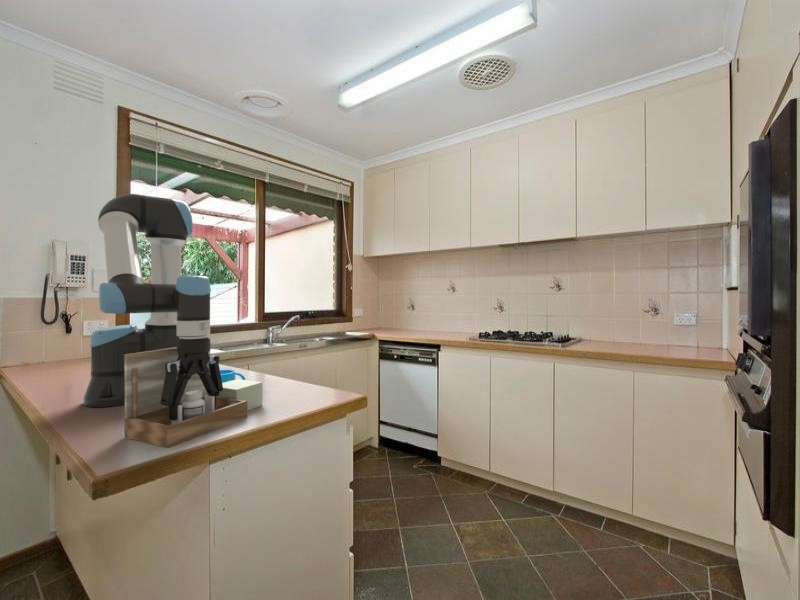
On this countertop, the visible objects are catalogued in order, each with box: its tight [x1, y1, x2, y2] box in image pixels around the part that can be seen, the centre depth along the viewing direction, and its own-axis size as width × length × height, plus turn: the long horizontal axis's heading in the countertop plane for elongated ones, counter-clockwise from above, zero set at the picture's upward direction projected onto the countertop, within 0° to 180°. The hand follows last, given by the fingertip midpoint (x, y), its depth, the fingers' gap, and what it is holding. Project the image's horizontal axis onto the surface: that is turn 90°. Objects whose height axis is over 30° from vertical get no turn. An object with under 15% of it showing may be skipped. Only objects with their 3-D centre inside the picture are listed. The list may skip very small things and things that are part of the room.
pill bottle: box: [182, 391, 205, 421], centre depth 98 cm, size 5×5×9 cm
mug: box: [220, 369, 246, 383], centre depth 128 cm, size 12×8×8 cm
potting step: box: [219, 378, 263, 411], centre depth 115 cm, size 10×10×7 cm
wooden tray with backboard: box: [124, 342, 249, 449], centre depth 98 cm, size 15×23×20 cm, turn 157°
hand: (194, 426), depth 98 cm, fingers open, 9 cm apart
